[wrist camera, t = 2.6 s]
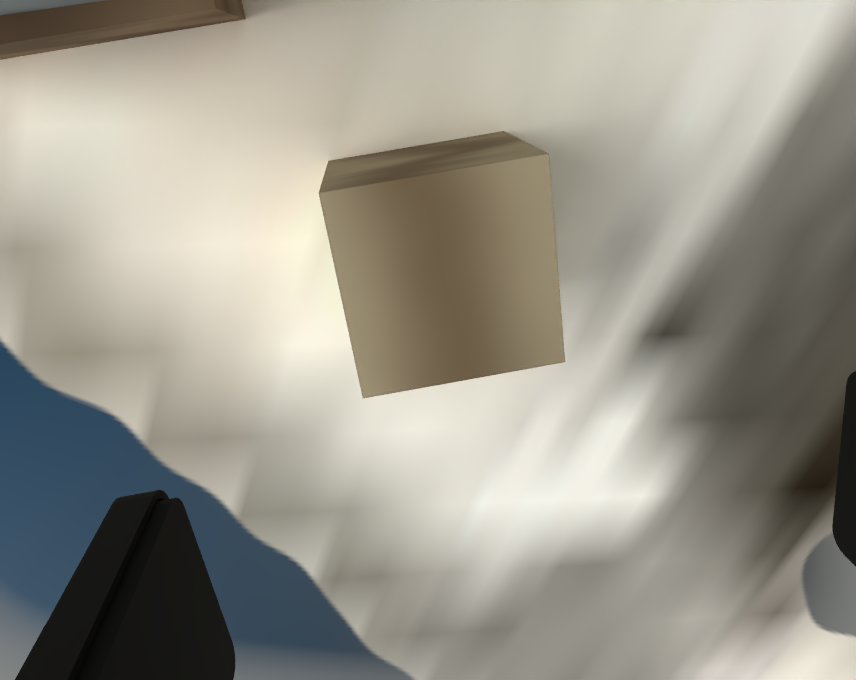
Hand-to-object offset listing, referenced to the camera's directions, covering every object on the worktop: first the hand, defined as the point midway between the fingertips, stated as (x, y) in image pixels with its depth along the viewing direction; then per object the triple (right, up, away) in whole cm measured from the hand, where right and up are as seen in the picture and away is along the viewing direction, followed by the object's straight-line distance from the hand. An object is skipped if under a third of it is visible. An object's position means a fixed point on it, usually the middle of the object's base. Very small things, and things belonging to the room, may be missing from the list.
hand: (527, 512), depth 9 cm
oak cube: (-1, +6, +15) cm, 16 cm away
